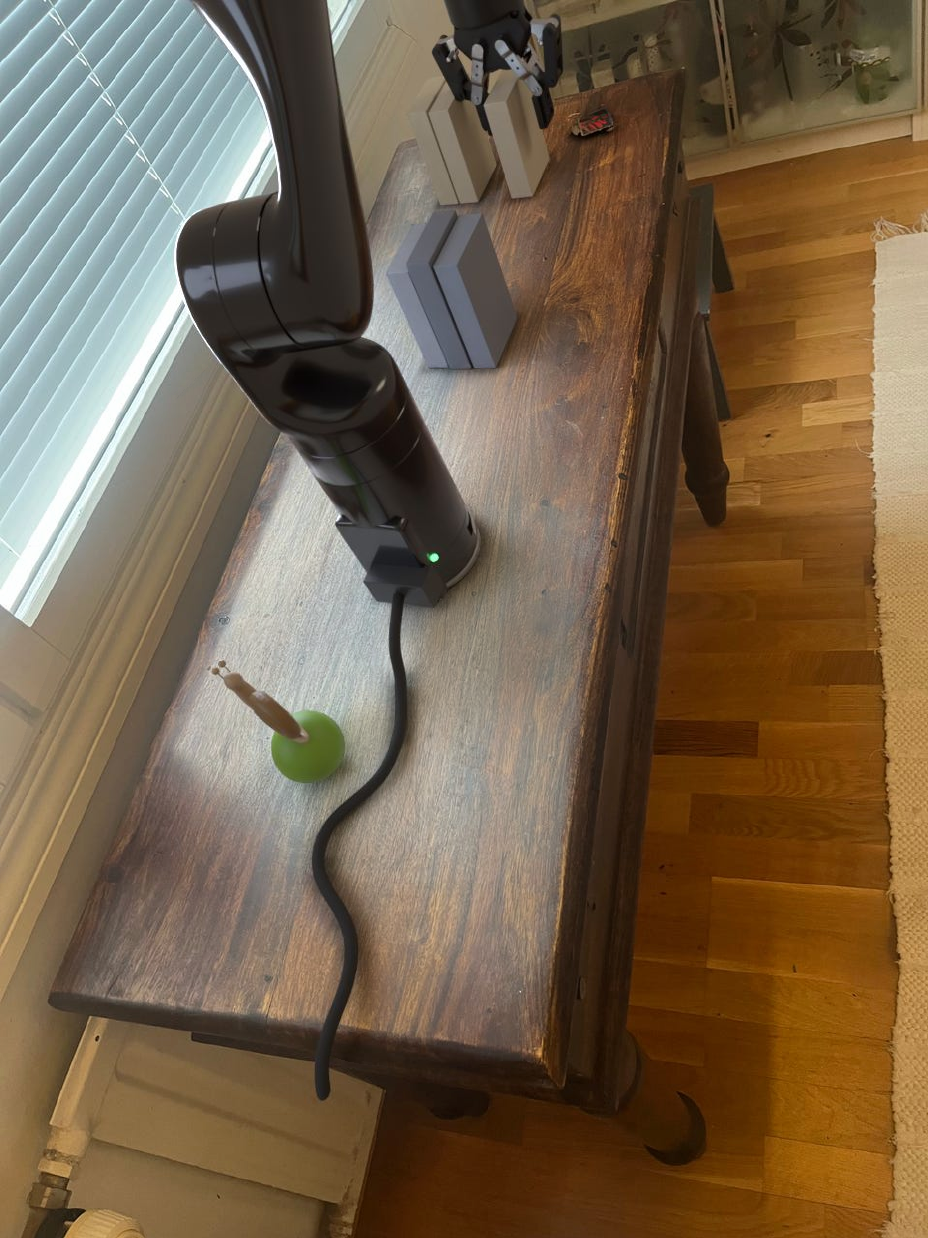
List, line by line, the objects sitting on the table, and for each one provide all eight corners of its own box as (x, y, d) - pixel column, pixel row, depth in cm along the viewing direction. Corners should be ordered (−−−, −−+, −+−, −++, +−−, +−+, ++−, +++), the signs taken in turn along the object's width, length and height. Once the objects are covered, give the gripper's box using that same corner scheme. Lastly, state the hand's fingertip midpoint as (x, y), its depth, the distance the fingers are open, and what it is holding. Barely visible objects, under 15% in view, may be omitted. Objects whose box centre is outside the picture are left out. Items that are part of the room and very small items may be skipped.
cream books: (478, 202, 108) (447, 108, 99) (440, 205, 110) (406, 114, 101) (496, 164, 111) (468, 70, 102) (459, 169, 113) (428, 77, 104)
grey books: (495, 368, 90) (454, 260, 81) (427, 369, 94) (379, 265, 84) (518, 316, 94) (481, 206, 84) (451, 318, 97) (408, 213, 87)
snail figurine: (315, 713, 74) (240, 634, 65) (369, 750, 71) (298, 672, 61) (270, 767, 73) (187, 694, 63) (323, 808, 69) (243, 736, 60)
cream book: (532, 196, 105) (505, 101, 96) (511, 198, 106) (483, 104, 97) (550, 158, 108) (525, 63, 99) (529, 161, 109) (503, 66, 100)
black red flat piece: (603, 108, 110) (602, 104, 109) (621, 125, 107) (620, 121, 106) (567, 127, 110) (566, 123, 110) (584, 144, 107) (583, 140, 106)
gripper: (394, -6, 90) (451, 156, 103) (530, -36, 84) (573, 140, 97) (420, -46, 93) (472, 116, 107) (553, -78, 87) (591, 99, 100)
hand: (520, 127), depth 102 cm, fingers open, 5 cm apart
